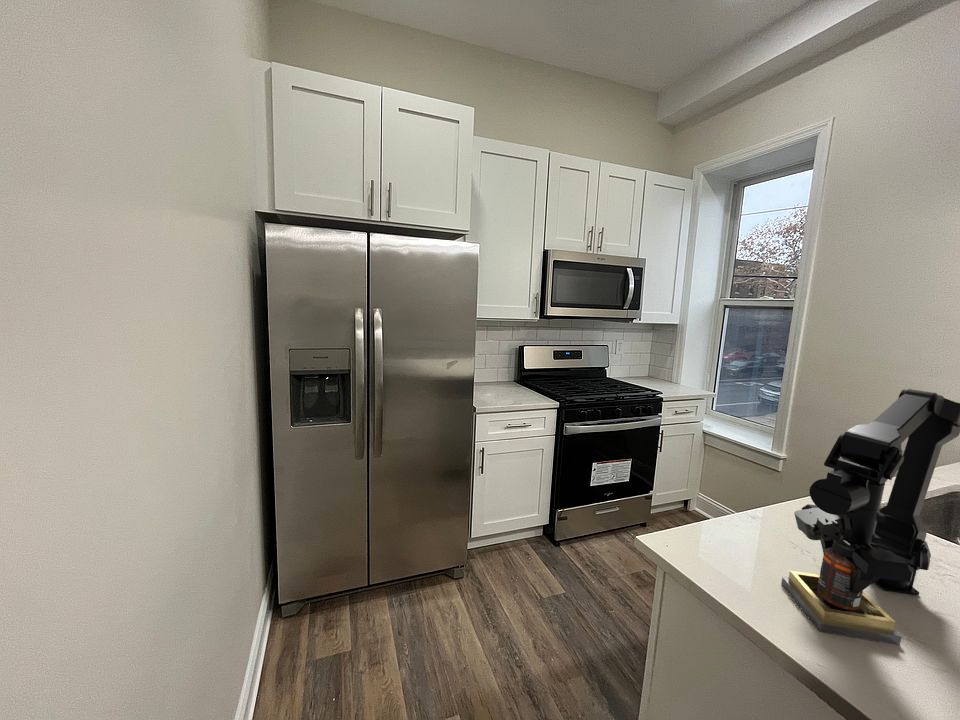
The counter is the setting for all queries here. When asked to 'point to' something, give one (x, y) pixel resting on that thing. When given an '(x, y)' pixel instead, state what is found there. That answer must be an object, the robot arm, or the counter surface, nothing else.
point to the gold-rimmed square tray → (840, 612)
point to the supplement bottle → (838, 577)
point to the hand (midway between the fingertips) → (841, 580)
